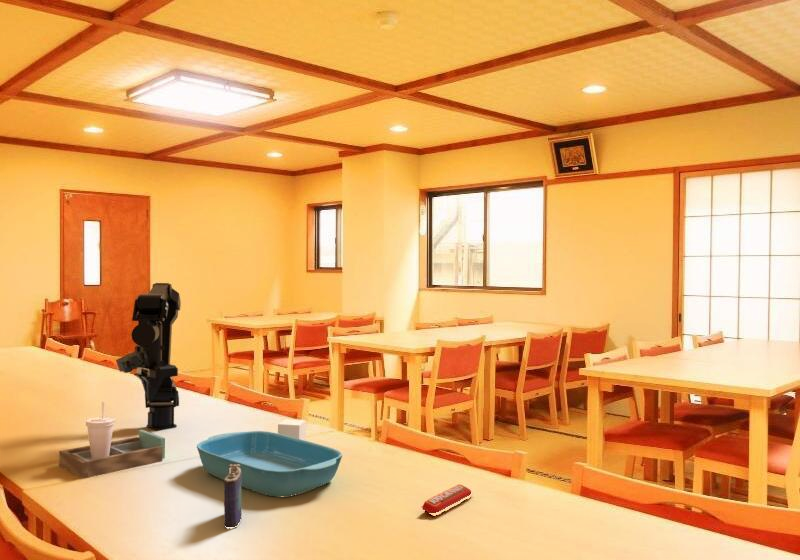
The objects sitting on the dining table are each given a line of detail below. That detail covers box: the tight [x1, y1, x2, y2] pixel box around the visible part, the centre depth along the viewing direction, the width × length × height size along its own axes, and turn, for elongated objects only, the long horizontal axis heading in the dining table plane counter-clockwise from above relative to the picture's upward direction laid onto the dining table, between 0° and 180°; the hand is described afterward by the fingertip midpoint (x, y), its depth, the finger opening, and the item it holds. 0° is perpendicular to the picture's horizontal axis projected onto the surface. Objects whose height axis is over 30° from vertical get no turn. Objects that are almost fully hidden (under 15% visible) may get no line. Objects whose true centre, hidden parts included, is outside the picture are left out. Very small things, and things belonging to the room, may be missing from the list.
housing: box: [58, 436, 163, 479], centre depth 161 cm, size 19×13×4 cm
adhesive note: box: [277, 418, 307, 441], centre depth 182 cm, size 6×6×6 cm
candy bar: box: [421, 484, 472, 514], centre depth 137 cm, size 16×4×3 cm, turn 144°
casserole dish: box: [196, 430, 343, 497], centre depth 153 cm, size 37×22×7 cm, turn 52°
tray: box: [72, 429, 166, 461], centre depth 162 cm, size 18×12×5 cm, turn 138°
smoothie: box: [85, 400, 116, 459], centre depth 159 cm, size 6×6×14 cm
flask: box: [223, 464, 242, 527], centre depth 127 cm, size 9×3×11 cm, turn 8°
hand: (149, 400), depth 177 cm, fingers closed
